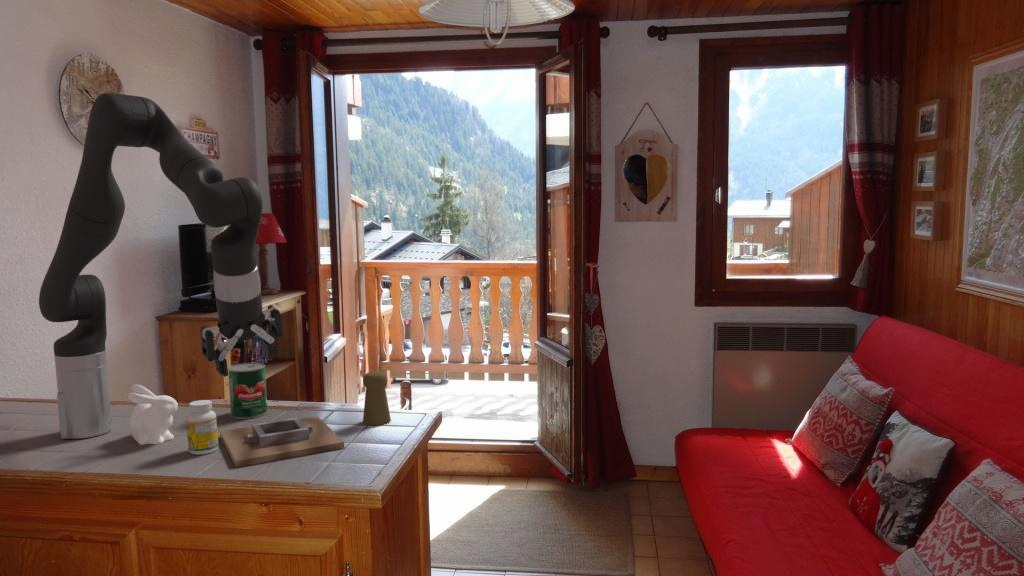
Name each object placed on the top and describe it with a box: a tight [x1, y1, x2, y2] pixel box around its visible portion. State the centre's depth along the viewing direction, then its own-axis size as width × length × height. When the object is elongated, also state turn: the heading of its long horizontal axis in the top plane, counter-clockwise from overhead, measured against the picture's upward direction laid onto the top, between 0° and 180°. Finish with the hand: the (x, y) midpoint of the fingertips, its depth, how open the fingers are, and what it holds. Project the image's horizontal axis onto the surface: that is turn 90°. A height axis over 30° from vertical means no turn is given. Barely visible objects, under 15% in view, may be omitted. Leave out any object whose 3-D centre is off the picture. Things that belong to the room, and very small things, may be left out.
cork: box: [362, 371, 392, 427], centre depth 158 cm, size 6×6×11 cm
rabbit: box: [127, 384, 179, 446], centre depth 147 cm, size 12×9×12 cm
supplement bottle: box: [185, 399, 219, 456], centre depth 141 cm, size 5×5×10 cm
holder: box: [219, 415, 345, 468], centre depth 145 cm, size 20×20×3 cm
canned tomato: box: [227, 362, 268, 420], centre depth 165 cm, size 8×8×11 cm
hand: (246, 366), depth 135 cm, fingers open, 8 cm apart
